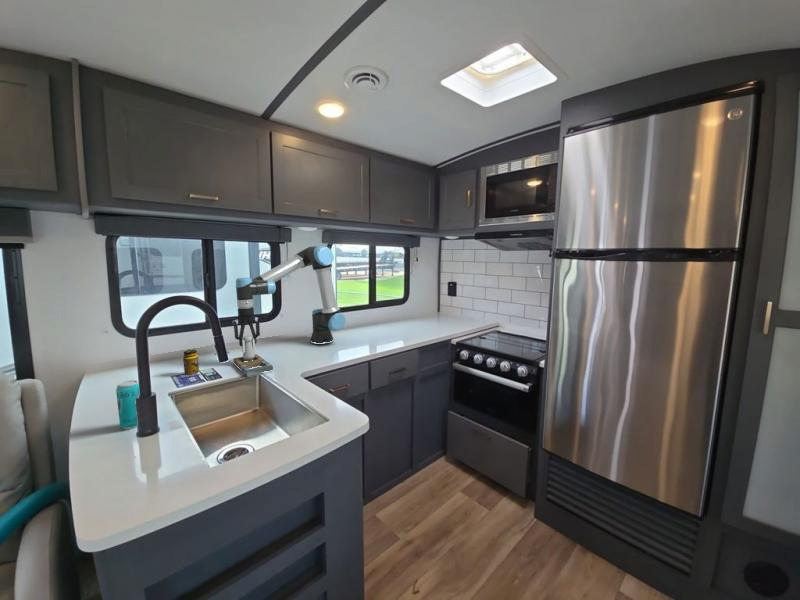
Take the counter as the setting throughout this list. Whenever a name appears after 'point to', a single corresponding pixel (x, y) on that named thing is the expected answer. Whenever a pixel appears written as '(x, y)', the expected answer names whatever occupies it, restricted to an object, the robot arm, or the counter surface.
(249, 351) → the salt shaker
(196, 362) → the condiment
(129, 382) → the beverage can
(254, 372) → the grey rectangular tray
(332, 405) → the counter surface
